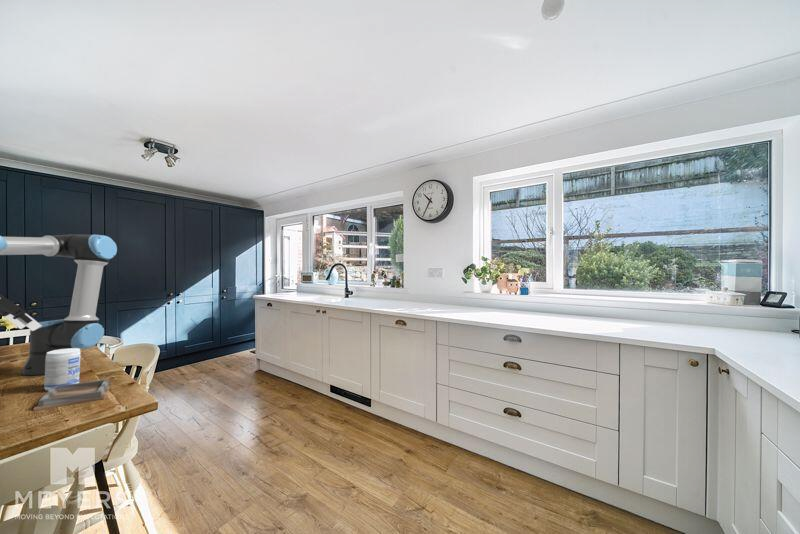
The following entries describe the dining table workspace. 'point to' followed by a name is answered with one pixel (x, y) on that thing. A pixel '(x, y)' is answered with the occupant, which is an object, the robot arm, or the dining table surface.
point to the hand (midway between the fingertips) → (31, 327)
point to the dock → (74, 394)
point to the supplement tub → (62, 367)
